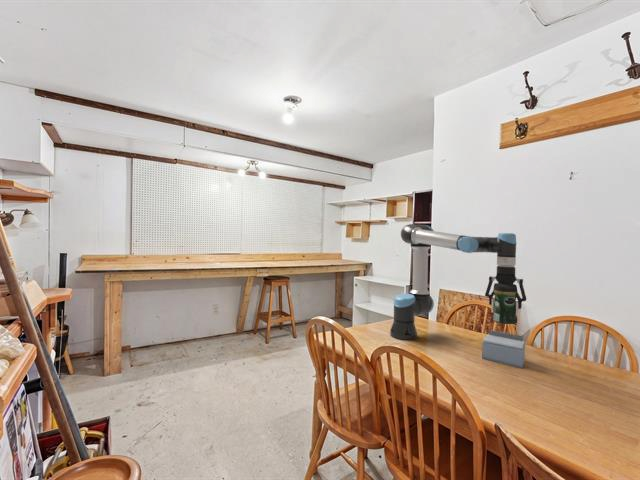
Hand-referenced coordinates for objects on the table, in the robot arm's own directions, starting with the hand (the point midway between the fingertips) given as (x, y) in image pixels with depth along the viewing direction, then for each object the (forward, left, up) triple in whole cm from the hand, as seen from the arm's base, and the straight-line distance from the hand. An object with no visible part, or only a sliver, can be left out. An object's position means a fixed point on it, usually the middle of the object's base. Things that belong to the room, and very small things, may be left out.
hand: (504, 313), depth 144 cm
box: (0, +1, -22) cm, 22 cm away
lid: (0, +1, -14) cm, 14 cm away
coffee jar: (0, 0, -4) cm, 4 cm away
